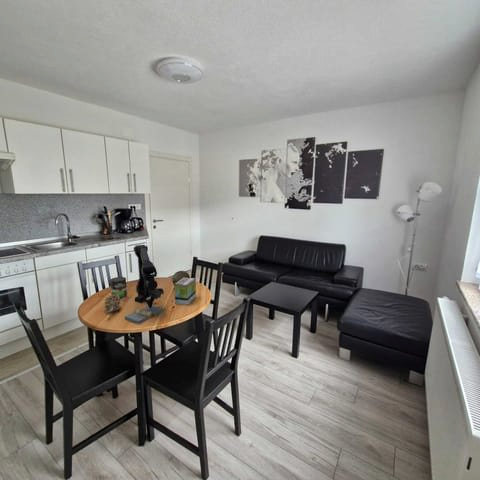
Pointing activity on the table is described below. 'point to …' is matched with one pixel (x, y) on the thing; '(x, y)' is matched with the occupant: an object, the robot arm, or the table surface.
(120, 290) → the coffee can
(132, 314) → the slate board
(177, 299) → the tea box
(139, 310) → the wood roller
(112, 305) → the pine cone
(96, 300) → the table surface
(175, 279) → the cantaloupe
